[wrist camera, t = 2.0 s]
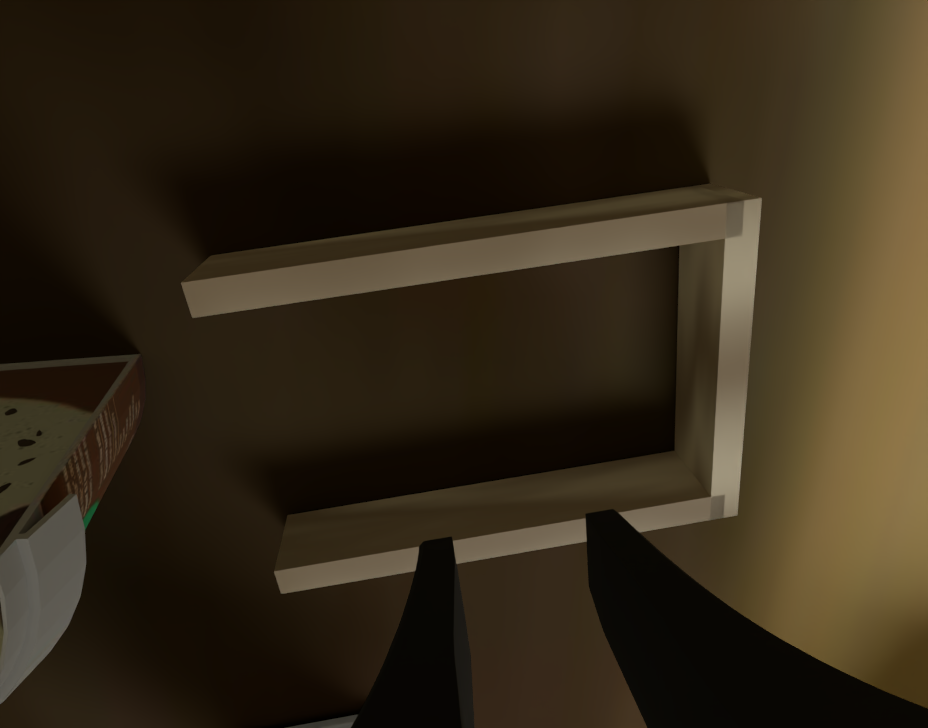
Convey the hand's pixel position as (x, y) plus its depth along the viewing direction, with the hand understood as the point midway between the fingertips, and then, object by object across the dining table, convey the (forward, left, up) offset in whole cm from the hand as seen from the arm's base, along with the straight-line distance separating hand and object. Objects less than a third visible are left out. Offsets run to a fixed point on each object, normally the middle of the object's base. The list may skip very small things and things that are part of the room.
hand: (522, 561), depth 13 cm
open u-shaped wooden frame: (0, 0, -9) cm, 9 cm away
